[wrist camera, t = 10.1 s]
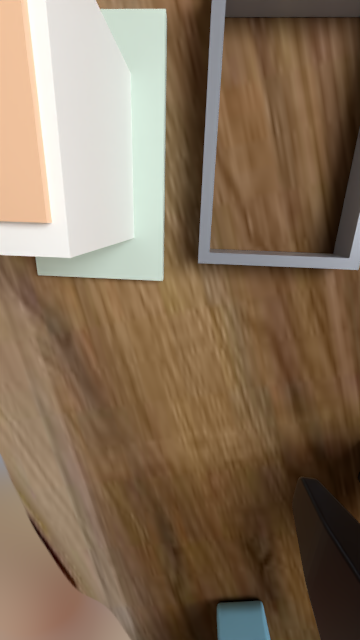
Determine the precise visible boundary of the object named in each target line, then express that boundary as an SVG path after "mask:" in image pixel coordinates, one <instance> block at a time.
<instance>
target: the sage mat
mask: <svg viewBox="0 0 360 640" xmlns="http://www.w3.org/2000/svg"><path fill="white" fill-rule="evenodd" d="M100 10H101V13H102V15H103V17H104V19H105V21H106V23H107V25H108V27H109V29H110V31H111V33H112V35H113V37H114V40H115V42H116V44H117V46H118V48H119V50H120V52H121V54H122V56H123V58H124V60H125V62H126V65H127V67H128V69H129V71H130V73H131V109H132V157H133V205H134V238H133V239H129V240H126V241H123V242H120V243H117V244H113V245H110V246H107V247H104V248H101V249H97V250H94V251H91V252H88V253H85V254H81V255H78V256H75V257H72V258H59V257H36V256H35V258H36V265H37V272H38V275H45V276H67V277H89V278H110V279H132V280H154V281H163V279H164V208H165V131H166V55H167V14H166V9H100Z"/></svg>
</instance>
